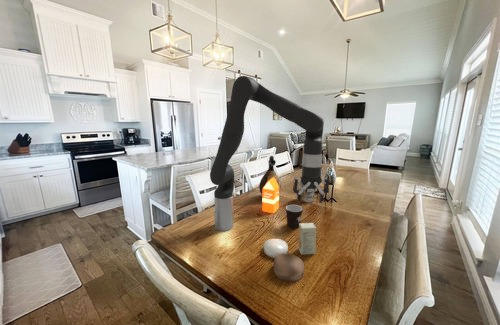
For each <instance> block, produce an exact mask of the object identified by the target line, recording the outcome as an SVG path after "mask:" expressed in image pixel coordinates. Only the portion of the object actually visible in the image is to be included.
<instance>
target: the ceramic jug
mask: <svg viewBox="0 0 500 325" xmlns="http://www.w3.org/2000/svg"><path fill="white" fill-rule="evenodd" d="M276 162H277V161H276V159H275V157H274V155H270V156H269V159H268V169H267V171H266V172H265V173H264V174H263V176H262V177H261V179H260V181H259V184H258V185H259V186H258V187H259V192H260V194H261V195H262V191H263V188H264V186H265V185H266V184H267V182H268V181H269V180H270V179H272V178H273V177H274V178H275V180H276V182H277V183H278V185H279V194H280V193H281V190H282V183H281V180H280V177H279V176H278V174H277V173H276V171H275V169H274V166H275V165H276Z"/></svg>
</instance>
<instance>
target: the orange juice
mask: <svg viewBox="0 0 500 325" xmlns="http://www.w3.org/2000/svg"><path fill="white" fill-rule="evenodd" d="M261 195H262V196H261V197H262V198H261V199H262V200H261V201H262V202H261V203H262V206H261V207H262V208H261V211H262V212H265V213H269V214H275V213H277V211H278V209H279V208H280V203H279V202H280V193H279V185H278V183H277V182H276V180H275V178H274V177H273V178H272V179H270V180H269V181H268V182H267V184H266V185H265V186H264V188H263V191H262V194H261Z"/></svg>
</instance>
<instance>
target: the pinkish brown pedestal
mask: <svg viewBox="0 0 500 325" xmlns="http://www.w3.org/2000/svg"><path fill="white" fill-rule="evenodd" d="M273 259H274V260H273V273H274V274H275V276H276V277H277V278H278V279H280V280H282V281H284V282H290V283H293V282H299V281H300V280H301V279H302V278H303V277H304V275H305V274H304V273H305V272H304V271H305V264H304V261H303V260H302V258H300V257H299V256H297V255H295V254H292V253H287V254H281V255H279V256H277V257H276V258H273Z"/></svg>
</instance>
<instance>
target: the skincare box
mask: <svg viewBox="0 0 500 325" xmlns="http://www.w3.org/2000/svg"><path fill="white" fill-rule="evenodd" d="M316 244H317V227H316V225H315V223H313V222H300V223H299V228H298V251H299V253H300V255H315V254H316V247H317V246H316Z"/></svg>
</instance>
